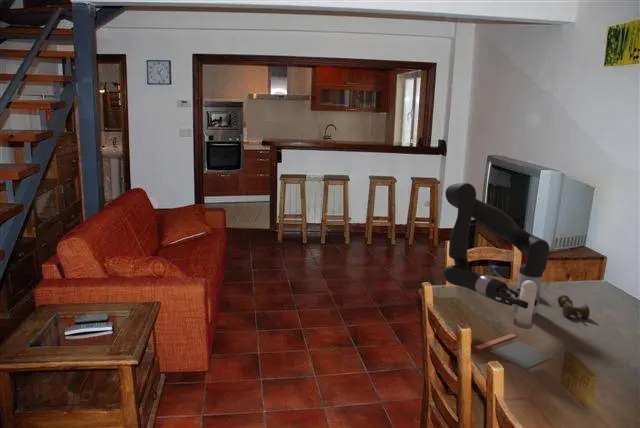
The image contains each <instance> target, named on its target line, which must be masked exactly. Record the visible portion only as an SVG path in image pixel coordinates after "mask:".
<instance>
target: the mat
mask: <svg viewBox="0 0 640 428" xmlns="http://www.w3.org/2000/svg"><path fill="white" fill-rule="evenodd" d="M490 353H491V354H494V355H496V356H498V357H500V358H502V359H504V360H505V361H508V362H510V363H512V364H514V365H516V366H517V367H519V368H522V369H524V370H527V369H530V368H533V367H535V366H536V365H540V364H541V363H544V362H546V361H549V360H550V359H553V356H551V355H548V354H545V353H544V352H541V351H539V350H537V349H535V348H532V347H531V346H528V345H526V344H525V343H522V342H519V341H514V342H511V343H509V344H505V345H503V346H501V347H498V348H495V349H493V350H490Z"/></svg>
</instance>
